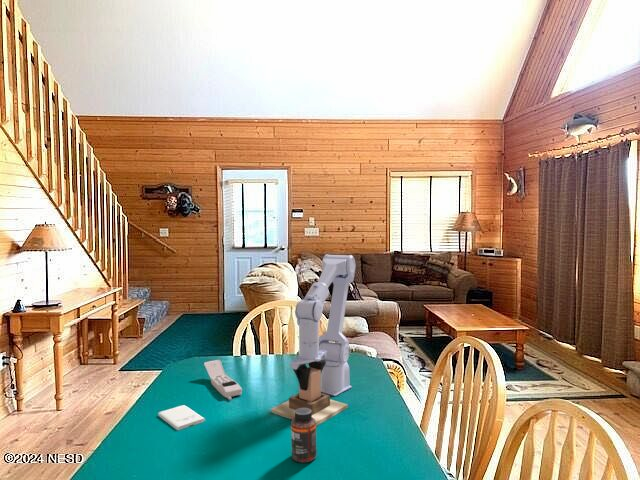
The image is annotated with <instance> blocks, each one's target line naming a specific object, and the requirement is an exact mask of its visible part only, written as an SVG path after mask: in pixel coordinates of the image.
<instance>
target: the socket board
mask: <svg viewBox="0 0 640 480" xmlns="http://www.w3.org/2000/svg"><path fill="white" fill-rule="evenodd" d="M348 405H349V404H347V403H344V402H340V401H337V400H334V399H331V395H330V394H326V393H323V392H321V397H320V398H318V399H316V400H314V401H312V402H311V401H307V400H304V399H301V398H299V392H298V393H296V394H294V395H292V396H290V397H288V400H287V401H284V402H282V403H280V404H279V405H276V406H274V407H272V408H270V413H272V414H275V415H278V416H281V417H283V418H287V419H289V420H291V421H292V420H293V419H294V418H295V410H297V409H299V408H309V409H311V411H312V418H314V419H315V421H316V427H317V426H319V425H320V424H322V423H324V422H326V421H328V420H329V419H331V418H332V417H334V416H336V415H338V414H340V413H341V412H343V411H345V410H346V409H348V408H349V407H348Z"/></svg>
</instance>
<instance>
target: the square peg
mask: <svg viewBox="0 0 640 480" xmlns="http://www.w3.org/2000/svg"><path fill="white" fill-rule="evenodd" d="M308 368H311V367H309V366H308ZM298 393H299V398H301V399H304V400H307V401H311V402H312V401H314V400H316V399H318V398H320V397H321V393H322V392H321V370H319V369H315V368H311V371H310V374H309V378H308V389H307V390H306V391H305V390H301V389H300V385H299V384H298Z"/></svg>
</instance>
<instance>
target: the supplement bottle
mask: <svg viewBox="0 0 640 480" xmlns="http://www.w3.org/2000/svg"><path fill="white" fill-rule="evenodd" d="M290 433H291V437H290V438H291V439H290V440H291V457H292V459H293V460H294V461H296V462H298V463H309V462H312V461H314V460H315V459H316V457H317V451H318V450H317V426H316V421H315V419H314V418H312V411H311V409H309V408H299V409H297V410H295V418H294V419H293V420H291V422H290Z"/></svg>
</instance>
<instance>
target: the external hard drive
mask: <svg viewBox="0 0 640 480" xmlns="http://www.w3.org/2000/svg"><path fill="white" fill-rule="evenodd" d="M157 414H158V417H159V419H162V420H163V421H165V422H166V423H168V424H169V426H171V427H172V428H174V429H175V430H176V431H180V430H184V429H186V428H190V427H191V426H196V425H198V424H201V423H204V421H205V422H206V418H205V417H203V416H201V415H200V414H198V413H197V412H196V411H195V410H192V409H191V408H190V407H188V406H186V405H185V404H183V405H178V406H175V407H173V408H169V409H166V410H165V409H164V410H162V411H159V412H158V413H157Z"/></svg>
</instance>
